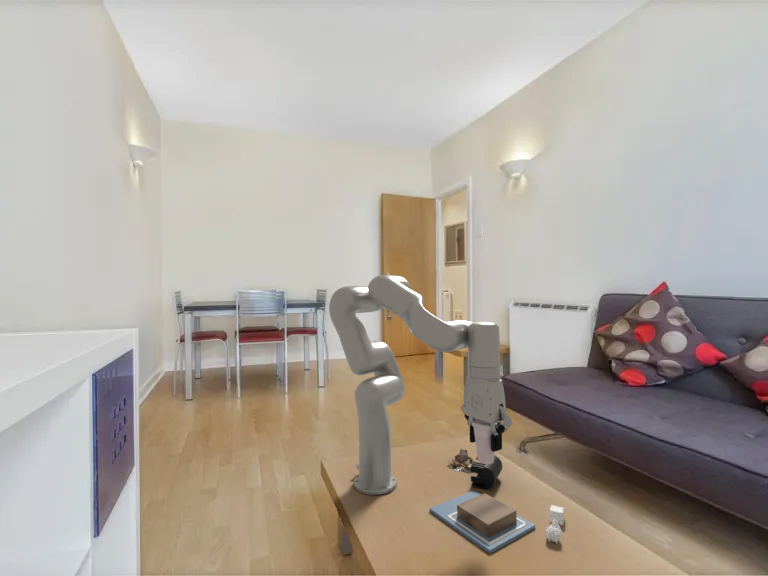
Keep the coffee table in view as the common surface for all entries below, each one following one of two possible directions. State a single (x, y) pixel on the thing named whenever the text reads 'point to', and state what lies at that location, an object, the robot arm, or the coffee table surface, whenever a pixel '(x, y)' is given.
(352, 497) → the coffee table surface
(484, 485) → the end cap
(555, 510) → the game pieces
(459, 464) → the frog figurine
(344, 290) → the robot arm
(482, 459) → the smoothie
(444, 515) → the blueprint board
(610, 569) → the coffee table surface
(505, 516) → the plinth
